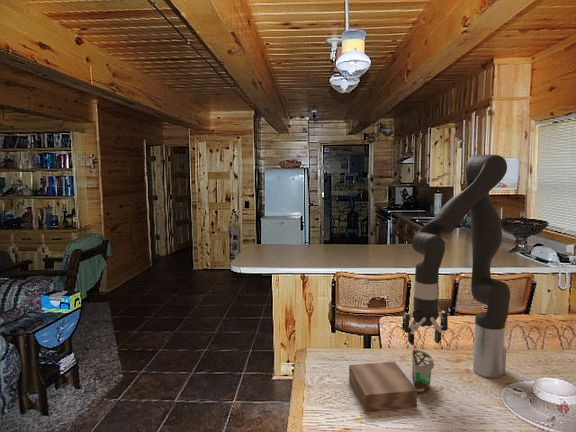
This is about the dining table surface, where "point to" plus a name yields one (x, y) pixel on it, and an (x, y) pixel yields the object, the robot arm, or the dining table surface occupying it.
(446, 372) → the dining table surface
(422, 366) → the food container
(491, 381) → the dining table surface
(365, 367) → the walnut box
